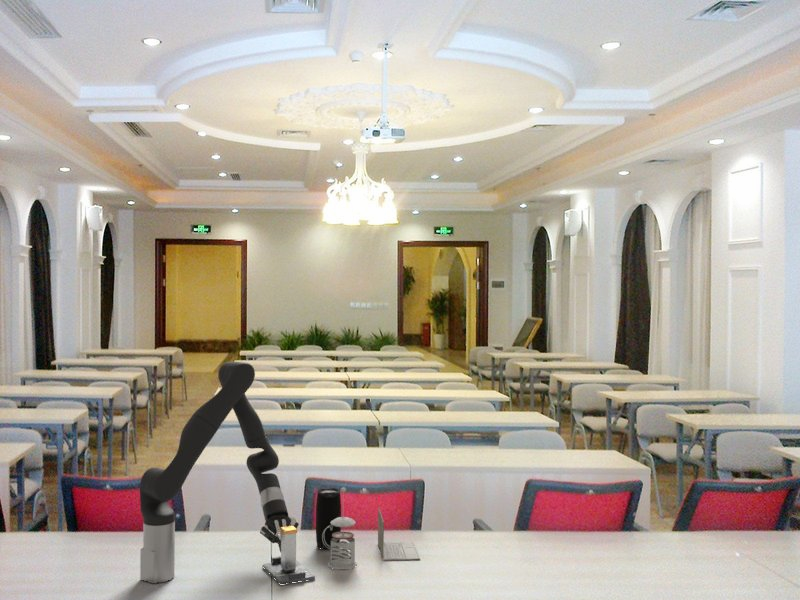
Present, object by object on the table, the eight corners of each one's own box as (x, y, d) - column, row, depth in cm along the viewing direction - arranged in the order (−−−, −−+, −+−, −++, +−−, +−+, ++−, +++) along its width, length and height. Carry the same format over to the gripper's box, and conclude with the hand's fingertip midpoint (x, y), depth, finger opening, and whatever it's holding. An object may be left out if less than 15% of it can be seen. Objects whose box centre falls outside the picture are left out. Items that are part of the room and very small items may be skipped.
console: (314, 580, 254) (314, 571, 253) (280, 585, 248) (280, 576, 248) (295, 562, 269) (295, 554, 269) (262, 567, 264) (262, 559, 264)
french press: (353, 571, 262) (354, 492, 261) (317, 568, 264) (318, 489, 263) (361, 561, 271) (362, 484, 271) (326, 558, 274) (327, 482, 273)
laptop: (420, 560, 273) (420, 521, 273) (382, 561, 272) (382, 522, 271) (413, 543, 291) (413, 506, 291) (377, 544, 289) (377, 507, 289)
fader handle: (296, 570, 257) (297, 529, 257) (284, 572, 256) (285, 531, 255) (292, 566, 261) (292, 525, 261) (279, 567, 259) (280, 527, 259)
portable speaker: (339, 541, 291) (339, 486, 290) (341, 550, 282) (342, 493, 281) (314, 542, 289) (315, 486, 289) (316, 551, 280) (317, 493, 279)
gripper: (256, 500, 266) (268, 550, 255) (295, 496, 272) (308, 544, 261) (251, 512, 270) (262, 562, 260) (289, 508, 276) (302, 556, 266)
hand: (285, 553), depth 260 cm, fingers closed
